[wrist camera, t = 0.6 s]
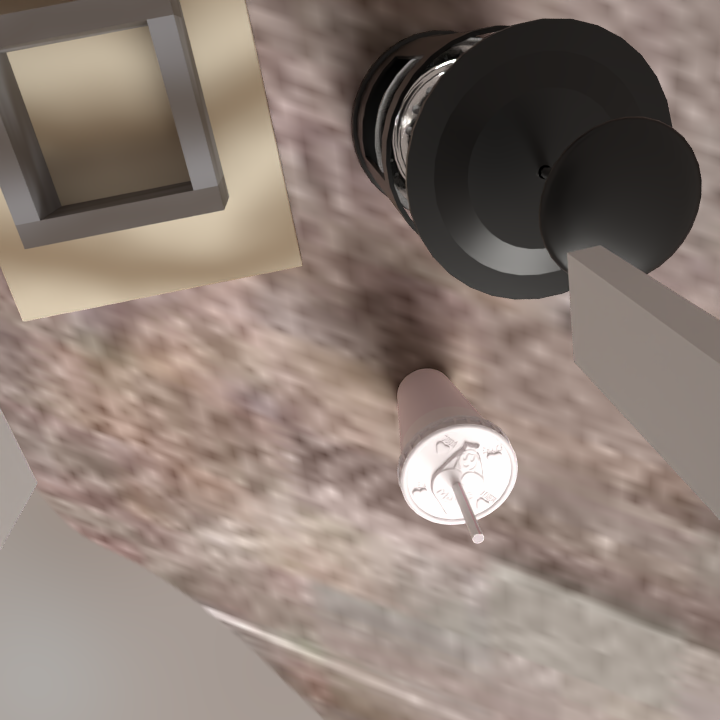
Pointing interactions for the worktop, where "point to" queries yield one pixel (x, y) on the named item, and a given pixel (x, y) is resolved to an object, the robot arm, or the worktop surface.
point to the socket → (134, 152)
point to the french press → (526, 152)
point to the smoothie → (450, 454)
